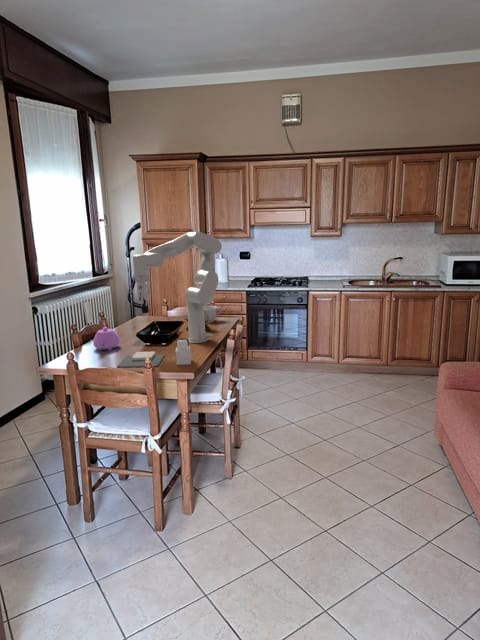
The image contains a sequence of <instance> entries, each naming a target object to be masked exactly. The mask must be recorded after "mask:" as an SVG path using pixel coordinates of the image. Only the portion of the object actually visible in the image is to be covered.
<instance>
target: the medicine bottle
mask: <svg viewBox="0 0 480 640" xmlns="http://www.w3.org/2000/svg"><path fill="white" fill-rule="evenodd" d="M175 364H176V365H175V366H182V365H184V366H185V365H191V364H192V353H191V346H190V344H189V340H188V339H187V338H178V339H176V347H175Z"/></svg>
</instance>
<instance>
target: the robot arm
mask: <svg viewBox="0 0 480 640" xmlns="http://www.w3.org/2000/svg"><path fill="white" fill-rule="evenodd" d="M192 248H197V251H198V253H199V255H200V262H199V264H198V267H197V269H196V271H195V274H194V277H193V282H194V284H195V285H197V286H191V287H188V288H187V289H185V292H184V299H185V304H186V310H187V312H188V322H187V324H188V325H187V327H188V328H189V331H188V337H187V338H186V339H188V340H189V343H190V344H200V343H205V342H208V341H209V338H214V334H212V333H207V332H206V331H205V321H204V308H203V306H208V305H209V304H210V303H211V301H212V299H213V297H214V295H215V292H216V290H217V288H218V284H219V275H218V273H217V272H216V271H214V268H215V265H216V260H215V255H216V254H219V253H220V252H221V251H222V242H221V241H220V240H219V239H217V238H216V237H214V236H211V235H209V234H207V233H204V232H201V231H187V232H186V233H183V234H182V235H180V236H178V237H176V238H175V239H173V240H170V241H168V242H165V243H163V244H160V245H158V246H155V247H152V248H151V249H149V250H147V251H145V252H144V253H141V254H134V255H133V257H132V263H133V273H134V274H133V275H134V281H135V282H134V283H136V291H137V300H138V302H140V305H141V313H142V314H148V313H149V312H150V310H149V309H150V308H149V300H150V299H151V298H152V294H151V286H150V281H151V278H150V268H160V267H161V266H163V265H164V261H165V259H167V258H173V257H177V256H180V255H181V254H184V253H185V252H187V251H189V250H190V249H192ZM198 286H199V287H198Z"/></svg>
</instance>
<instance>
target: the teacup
mask: <svg viewBox="0 0 480 640" xmlns="http://www.w3.org/2000/svg"><path fill="white" fill-rule="evenodd" d="M203 308H204V310H205V311H206V313H207V314H208V315H209V319H208V323H213V322H214V320H215V319H216V317H217V316H218V315H220V314H221V313H222V311H223V309H222V307H220V306H217V305H203ZM219 310H220V311H219ZM217 311H219V312H217Z"/></svg>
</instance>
